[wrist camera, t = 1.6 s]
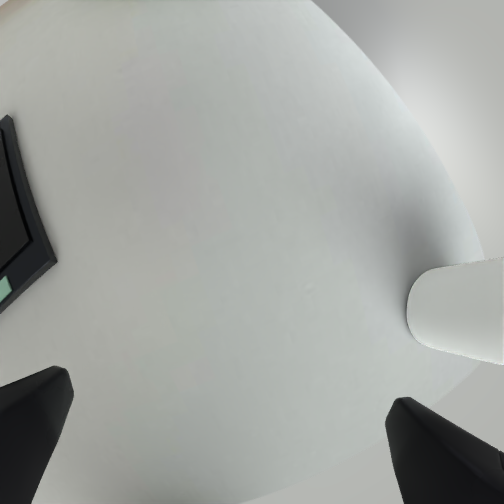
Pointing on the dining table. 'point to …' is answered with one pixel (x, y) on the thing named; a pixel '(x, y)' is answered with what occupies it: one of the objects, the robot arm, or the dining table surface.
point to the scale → (18, 224)
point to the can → (460, 309)
